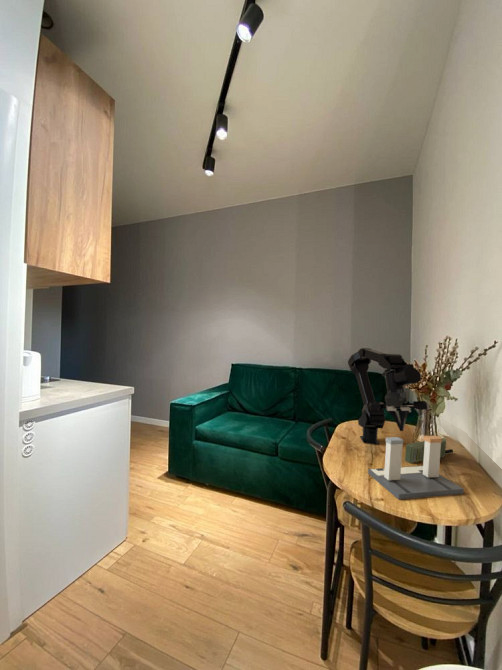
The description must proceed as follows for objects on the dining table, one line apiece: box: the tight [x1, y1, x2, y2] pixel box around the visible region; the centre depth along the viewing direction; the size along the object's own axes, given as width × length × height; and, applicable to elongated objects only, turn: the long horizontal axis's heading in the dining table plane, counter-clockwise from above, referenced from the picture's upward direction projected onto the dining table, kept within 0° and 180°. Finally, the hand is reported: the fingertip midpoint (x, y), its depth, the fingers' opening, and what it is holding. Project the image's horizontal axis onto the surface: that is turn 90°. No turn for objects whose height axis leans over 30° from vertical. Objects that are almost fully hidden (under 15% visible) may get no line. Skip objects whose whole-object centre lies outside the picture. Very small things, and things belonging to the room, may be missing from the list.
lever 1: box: [384, 436, 404, 480], centre depth 82 cm, size 2×4×12 cm, turn 102°
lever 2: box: [422, 435, 443, 478], centre depth 85 cm, size 2×4×12 cm, turn 102°
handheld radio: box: [404, 437, 454, 464], centre depth 102 cm, size 7×3×25 cm
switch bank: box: [367, 465, 465, 500], centre depth 84 cm, size 14×22×2 cm, turn 102°
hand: (401, 431), depth 96 cm, fingers closed
